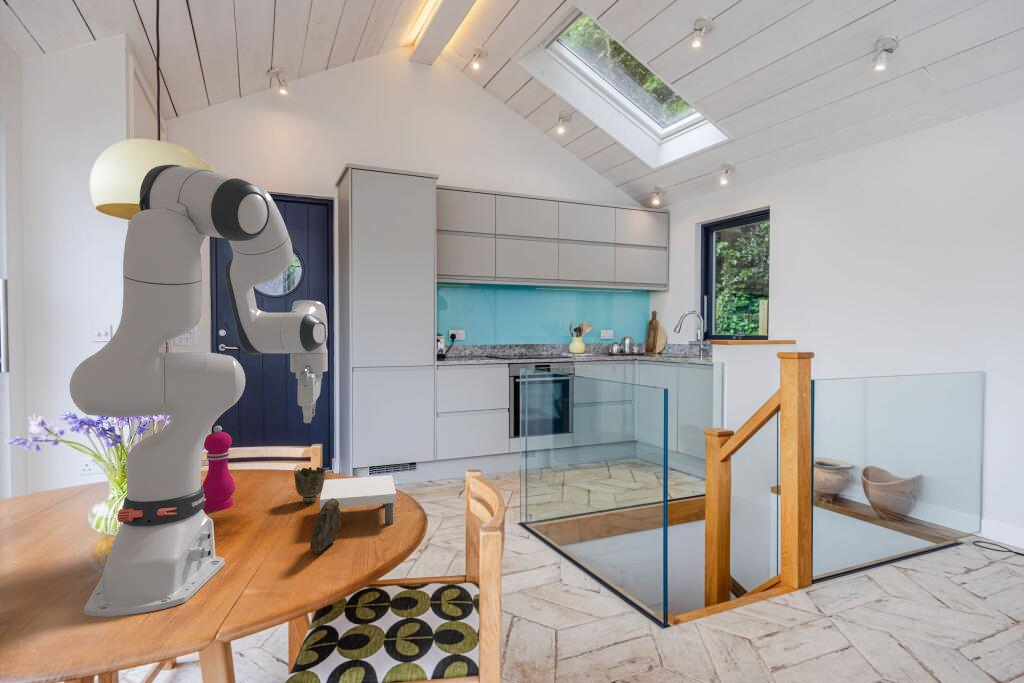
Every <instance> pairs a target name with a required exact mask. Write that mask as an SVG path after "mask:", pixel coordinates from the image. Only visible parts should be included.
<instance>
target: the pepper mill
mask: <svg viewBox="0 0 1024 683" xmlns="http://www.w3.org/2000/svg"><path fill="white" fill-rule="evenodd" d="M222 430H223V428H222V426H221V425H216V426H214V427H213V431H214V432H212V433H210V434H209V433H208V434H207V437H206V439H205V442H204V446H203V449H205V450H206V451H207V452H206V460H207V461H208V469H207V474H206V476H205V479H204V480H203V482H202V484H201V486H202V487H203V490H204V496H205V499H204V507H203V510H204V511H212V512H214V511H224V510H226V509H230V508H232V507H233V505H234V498H233V497H231V496H233V494H234V492H235V490H236V485H235V480H234V478H233V477H232V475H231V473H230V470H229V465H228V461H229V458H230V456H231V455H230V453H231V452H230V450H229V449H230V448H231V447H232V443H233V440H232V437H231V435H230V434H229V433H227V432H224V431H222Z"/></svg>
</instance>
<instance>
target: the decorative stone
mask: <svg viewBox="0 0 1024 683" xmlns="http://www.w3.org/2000/svg"><path fill="white" fill-rule="evenodd" d="M338 506H339V502H338V501H337V500H336V499H334V498H331V499H329V500H328V501H327V502H325V504H324V506H323V507H322V509H320V510H319V513H317V516H316V519H315V522H314V524H313V531H312V533H311V540H310V543H309V544H310V545H309V549H310V550H312V551H313V553H314V554H319V553H320V552H322V550H324V549H325V548H327V547H328V545H330V544H333V543H335V541H336V540H337V538H338V535H339V532H340V530H341V527H342V519H341V518H342V517H341V510H340V507H338Z"/></svg>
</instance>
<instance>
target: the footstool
mask: <svg viewBox="0 0 1024 683" xmlns="http://www.w3.org/2000/svg"><path fill="white" fill-rule="evenodd" d="M331 498H334V499H336V500H337V501H338V502H339V506H338V507H339V508H348V507H360V506H373V505H382V507H384V525H387V526H388V525H389V526H390V525H393V524H394V504H395V503H396V504H397V490H396V486H395V482H394V478H393V475H392V474H391V475H377V476H375V475H374V476H363V477H346V478H334V479H333V478H332V479H324V484H323V489H322V491H321V492H320V498H319V509H320V510H321V509H322V507H323V506H324V504H325V502H327V501H328V500H329V499H331Z"/></svg>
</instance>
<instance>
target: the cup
mask: <svg viewBox="0 0 1024 683" xmlns="http://www.w3.org/2000/svg"><path fill="white" fill-rule="evenodd" d="M312 468H313V467H311V466H310V467H308V468H307V467H302V468H301V469H297V470H294V471H293V474H294V475H293V476H294V483H295V489H296V492H297V495H299V496H301V497H302V499H301V501H302V502H303V503H304V504H305V503H306V504H312V503H314V502H317V501H318V499H319V498H318V495H320V494H321V493H322V489H323V484H324V480H325V476H326V469H325V468H324V466H323V467H321V468H320V466H317V467H316V468H315V469H312Z"/></svg>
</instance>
